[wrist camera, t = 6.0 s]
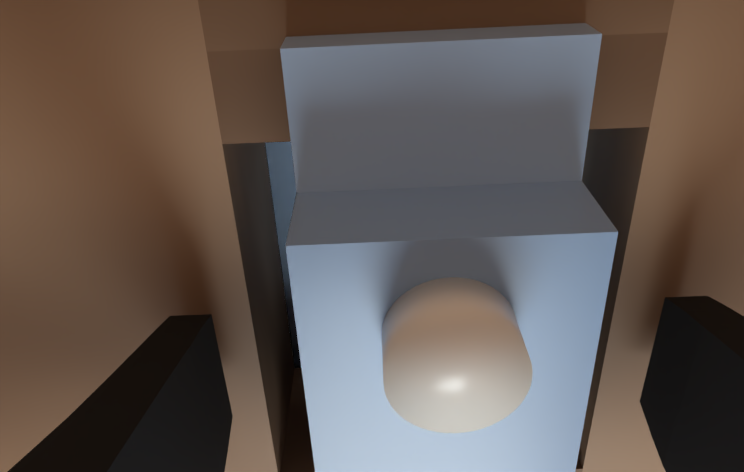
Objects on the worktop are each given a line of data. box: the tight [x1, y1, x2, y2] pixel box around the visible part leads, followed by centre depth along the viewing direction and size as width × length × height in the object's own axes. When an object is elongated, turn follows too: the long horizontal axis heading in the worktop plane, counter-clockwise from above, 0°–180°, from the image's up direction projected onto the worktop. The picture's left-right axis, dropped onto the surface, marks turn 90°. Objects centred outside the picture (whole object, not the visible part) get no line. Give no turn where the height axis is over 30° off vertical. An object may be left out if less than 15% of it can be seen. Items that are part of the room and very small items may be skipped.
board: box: [0, 0, 744, 472], centre depth 11 cm, size 12×16×3 cm
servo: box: [280, 23, 618, 472], centre depth 10 cm, size 9×4×6 cm, turn 2°
